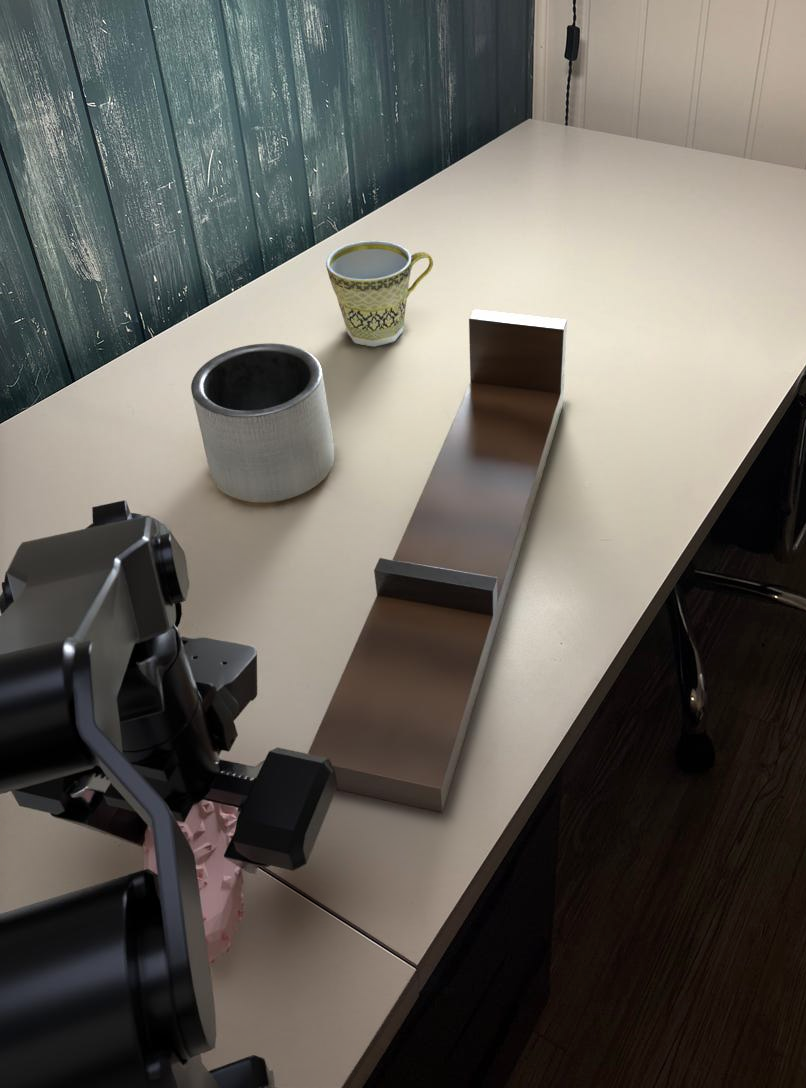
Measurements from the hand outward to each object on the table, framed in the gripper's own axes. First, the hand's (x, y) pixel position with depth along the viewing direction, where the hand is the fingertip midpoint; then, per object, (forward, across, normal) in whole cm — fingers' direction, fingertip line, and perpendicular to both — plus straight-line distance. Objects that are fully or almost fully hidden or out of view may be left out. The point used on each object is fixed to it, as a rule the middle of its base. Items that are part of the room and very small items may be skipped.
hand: (201, 853), depth 62 cm
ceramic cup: (+3, +10, -69) cm, 70 cm away
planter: (+3, +13, -41) cm, 43 cm away
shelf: (+3, -9, -33) cm, 34 cm away
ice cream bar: (+1, 0, 0) cm, 1 cm away
